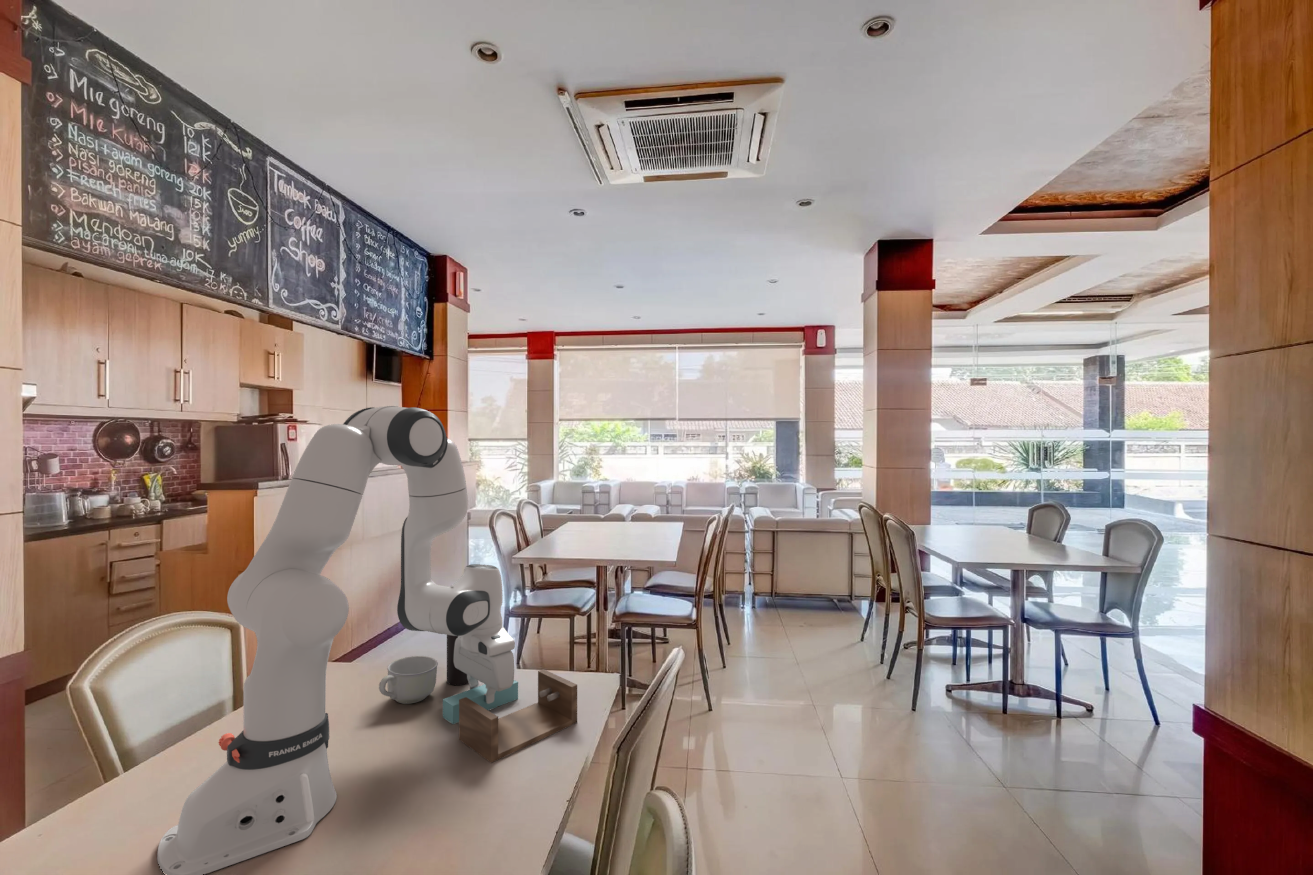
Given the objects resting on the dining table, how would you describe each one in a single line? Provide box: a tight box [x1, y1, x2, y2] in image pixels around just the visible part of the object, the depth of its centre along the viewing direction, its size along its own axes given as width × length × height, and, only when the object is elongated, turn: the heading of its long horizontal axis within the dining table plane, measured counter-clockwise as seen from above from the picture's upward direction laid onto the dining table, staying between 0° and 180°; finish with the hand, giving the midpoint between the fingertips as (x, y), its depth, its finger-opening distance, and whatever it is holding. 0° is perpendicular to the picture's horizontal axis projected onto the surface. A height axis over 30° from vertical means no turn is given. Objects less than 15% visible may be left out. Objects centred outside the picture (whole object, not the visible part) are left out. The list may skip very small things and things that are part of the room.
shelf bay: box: [458, 668, 578, 764], centre depth 116 cm, size 20×12×8 cm, turn 137°
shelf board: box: [442, 679, 519, 725], centre depth 126 cm, size 16×4×4 cm, turn 137°
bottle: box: [446, 635, 469, 686], centre depth 140 cm, size 7×7×20 cm
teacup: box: [378, 655, 439, 705], centre depth 129 cm, size 14×11×8 cm
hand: (482, 697), depth 126 cm, fingers open, 4 cm apart
